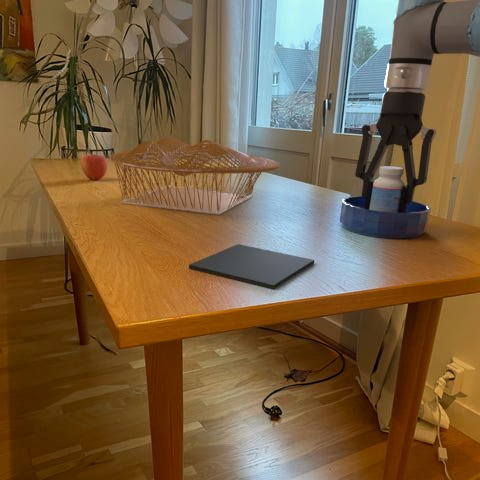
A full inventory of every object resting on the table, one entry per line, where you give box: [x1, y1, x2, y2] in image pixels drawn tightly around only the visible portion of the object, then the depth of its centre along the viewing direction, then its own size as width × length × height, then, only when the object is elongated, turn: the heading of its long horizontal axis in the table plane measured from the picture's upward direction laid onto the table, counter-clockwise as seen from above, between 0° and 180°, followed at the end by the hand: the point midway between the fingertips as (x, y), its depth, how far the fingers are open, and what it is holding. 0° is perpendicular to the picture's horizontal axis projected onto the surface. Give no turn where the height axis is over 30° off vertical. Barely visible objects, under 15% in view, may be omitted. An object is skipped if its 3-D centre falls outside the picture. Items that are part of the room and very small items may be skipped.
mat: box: [188, 243, 315, 290], centre depth 72 cm, size 14×14×1 cm
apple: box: [80, 149, 108, 181], centre depth 136 cm, size 7×7×8 cm
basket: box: [109, 137, 281, 216], centre depth 113 cm, size 36×40×14 cm
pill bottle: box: [369, 165, 406, 212], centre depth 95 cm, size 6×6×11 cm
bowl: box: [339, 196, 432, 240], centre depth 97 cm, size 17×17×5 cm
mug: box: [349, 180, 363, 197], centre depth 113 cm, size 8×10×10 cm
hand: (383, 216), depth 97 cm, fingers closed on pill bottle, 6 cm apart
